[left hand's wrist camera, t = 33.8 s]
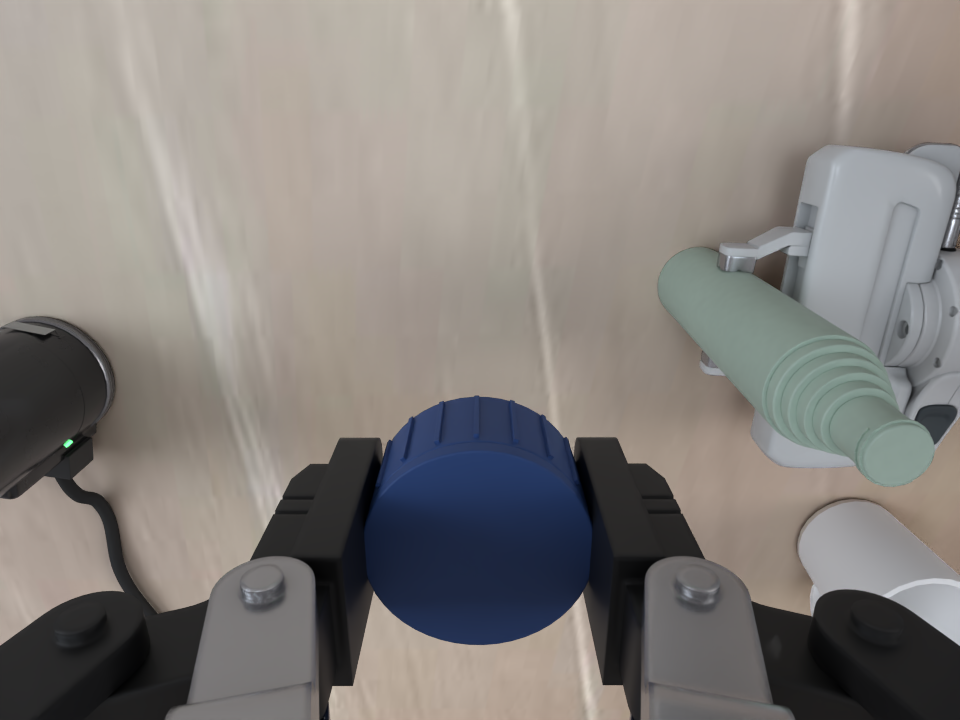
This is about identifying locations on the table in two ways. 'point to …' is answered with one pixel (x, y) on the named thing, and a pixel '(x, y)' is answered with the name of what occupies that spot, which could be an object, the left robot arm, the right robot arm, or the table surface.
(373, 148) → the table surface
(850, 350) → the bottle
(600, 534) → the left robot arm
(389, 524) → the cap
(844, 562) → the mug
